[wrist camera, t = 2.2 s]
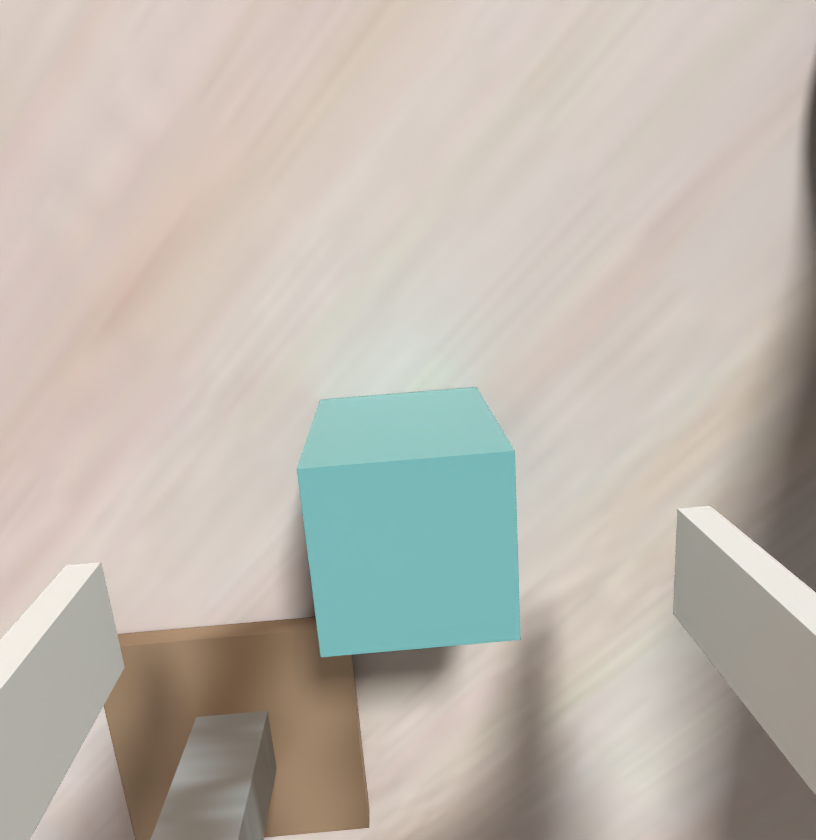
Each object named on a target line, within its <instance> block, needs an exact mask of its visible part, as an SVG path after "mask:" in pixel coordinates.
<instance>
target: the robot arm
mask: <svg viewBox="0 0 816 840" xmlns="http://www.w3.org/2000/svg"><path fill="white" fill-rule="evenodd" d="M673 614H674V616H675V617H676V618H677V619H678V621H679V622H680V623H681V624H682V626H683V627H684V628H685V630H686V631H687V632H688V633H689V635H690V636H691V637H692V638H693V640H694V641H695V642H696V644H697V645H698V646H699V647H700V649H701V650H702V651H703V653H704V654H705V655H706V656H707V658H708V659H709V660H710V661H711V663H712V664H713V665H714V667H715V668H716V669H717V670H718V672H719V673H720V674H721V675H722V677H723V678H724V679H725V681H726V682H727V683H728V684H729V686H730V687H731V688H732V689H733V691H734V692H735V693H736V695H737V696H738V697H739V698H740V700H741V701H742V702H743V704H744V705H745V706H746V707H747V709H748V710H749V711H750V712H751V714H752V715H753V716H754V718H755V719H756V720H757V721H758V723H759V724H760V725H761V726H762V728H763V729H764V730H765V732H766V733H767V734H768V735H769V737H770V738H771V739H772V740H773V742H774V743H775V744H776V746H777V747H778V748H779V749H780V751H781V752H782V753H783V755H784V756H785V757H786V758H787V760H788V761H789V762H790V763H791V765H792V766H793V767H794V769H795V770H796V771H797V772H798V774H799V775H800V776H801V777H802V779H803V780H804V781H805V783H806V784H807V785H808V786H809V788H810V789H811V790H812V791H813V793H814V794H815V795H816V592H814V591H813V590H812V589H811V588H810V587H808V586H807V585H806V584H805V583H804V582H802V581H801V580H800V579H799V578H797V577H796V576H795V575H794V574H793V573H791V572H790V571H789V570H788V569H786V568H785V567H784V566H783V565H782V564H780V563H779V562H778V561H777V560H776V559H774V558H773V557H772V556H771V555H769V554H768V553H767V552H766V551H765V550H763V549H762V548H761V547H760V546H758V545H757V544H756V543H755V542H754V541H752V540H751V539H750V538H749V537H748V536H746V535H745V534H744V533H743V532H741V531H740V530H739V529H738V528H737V527H735V526H734V525H733V524H732V523H730V522H729V521H728V520H727V519H726V518H724V517H723V516H722V515H721V514H720V513H718V512H717V511H716V510H715V509H713V508H712V507H711V506H702V507H691V508H680V509H677V531H676V555H675V579H674V603H673ZM124 668H125V667H124V662H123V658H122V653H121V649H120V644H119V640H118V635H117V631H116V627H115V622H114V618H113V613H112V609H111V604H110V600H109V595H108V591H107V586H106V582H105V577H104V573H103V568H102V564H101V562H96V563H85V564H74V565H66V566H65V567H64V568H63V570H62V571H61V572H60V573H59V574H58V575H57V576H56V577H55V579H54V580H53V581H52V582H51V583H50V584H49V585H48V587H47V588H46V589H45V590H44V591H43V592H42V593H41V594H40V596H39V597H38V598H37V599H36V600H35V601H34V602H33V603H32V605H31V606H30V607H29V608H28V609H27V610H26V611H25V612H24V614H23V615H22V616H21V617H20V618H19V619H18V620H17V622H16V623H15V624H14V625H13V626H12V627H11V628H10V629H9V631H8V632H7V633H6V634H5V635H4V636H3V637H2V638H1V640H0V840H30V839H31V837H32V835H33V833H34V831H35V829H36V828H37V826H38V824H39V822H40V820H41V819H42V817H43V815H44V813H45V811H46V809H47V808H48V806H49V804H50V802H51V800H52V799H53V797H54V795H55V793H56V791H57V789H58V788H59V786H60V784H61V782H62V780H63V779H64V777H65V775H66V773H67V771H68V769H69V768H70V766H71V764H72V762H73V760H74V758H75V757H76V755H77V753H78V751H79V749H80V748H81V746H82V744H83V742H84V740H85V738H86V737H87V735H88V733H89V731H90V729H91V728H92V726H93V724H94V722H95V720H96V718H97V717H98V715H99V713H100V711H101V709H102V708H103V706H104V704H105V702H106V700H107V698H108V697H109V695H110V693H111V691H112V689H113V688H114V686H115V684H116V682H117V680H118V678H119V677H120V675H121V673H122V671H123V669H124Z"/></svg>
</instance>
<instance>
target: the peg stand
mask: <svg viewBox="0 0 816 840" xmlns="http://www.w3.org/2000/svg"><path fill="white" fill-rule="evenodd" d="M117 635H118V640H119V644H120V649H121V653H122V658H123V662H124V667H125V668H124V669H123V671H122V673H121V675H120V677H119V678H118V680H117V682H116V684H115V686H114V688H113V689H112V691H111V693H110V695H109V697H108V698H107V700H106V702H105V704H104V709H105V713H106V718H107V722H108V726H109V730H110V735H111V739H112V743H113V747H114V751H115V756H116V760H117V764H118V768H119V772H120V777H121V781H122V785H123V789H124V793H125V798H126V802H127V806H128V810H129V814H130V819H131V823H132V827H133V831H134V835H135V840H263V838H264V837H273V836H284V835H295V834H306V833H317V832H327V831H338V830H349V829H360V828H369V802H368V793H367V784H366V775H365V766H364V758H363V749H362V740H361V731H360V722H359V713H358V704H357V695H356V686H355V677H354V668H353V660H352V655H342V656H330V657H321V655H320V647H319V639H318V631H317V624H316V617H309V618H298V619H286V620H275V621H263V622H252V623H240V624H229V625H217V626H206V627H194V628H183V629H171V630H160V631H148V632H137V633H125V634H117Z"/></svg>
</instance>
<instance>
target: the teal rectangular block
mask: <svg viewBox="0 0 816 840" xmlns="http://www.w3.org/2000/svg"><path fill="white" fill-rule="evenodd" d="M297 474H298V482H299V490H300V498H301V506H302V514H303V522H304V529H305V537H306V545H307V553H308V561H309V569H310V576H311V584H312V592H313V600H314V608H315V616H316V624H317V631H318V639H319V647H320V655H321V657H330V656H342V655H353V654H364V653H376V652H387V651H398V650H410V649H421V648H432V647H444V646H455V645H467V644H478V643H489V642H501V641H512V640H521V639H520V607H519V574H518V542H517V510H516V477H515V451H514V449H513V447H512V446H511V444H510V442H509V441H508V439H507V437H506V436H505V434H504V432H503V430H502V429H501V427H500V425H499V424H498V422H497V420H496V419H495V417H494V415H493V414H492V412H491V410H490V409H489V407H488V405H487V404H486V402H485V400H484V399H483V397H482V395H481V394H480V392H479V390H478V389H477V387H471V388H459V389H446V390H434V391H422V392H410V393H397V394H385V395H373V396H360V397H348V398H336V399H323V400H320V402H319V405H318V408H317V411H316V414H315V417H314V420H313V423H312V426H311V429H310V432H309V435H308V437H307V440H306V443H305V446H304V449H303V452H302V455H301V458H300V461H299V464H298V467H297Z"/></svg>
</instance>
